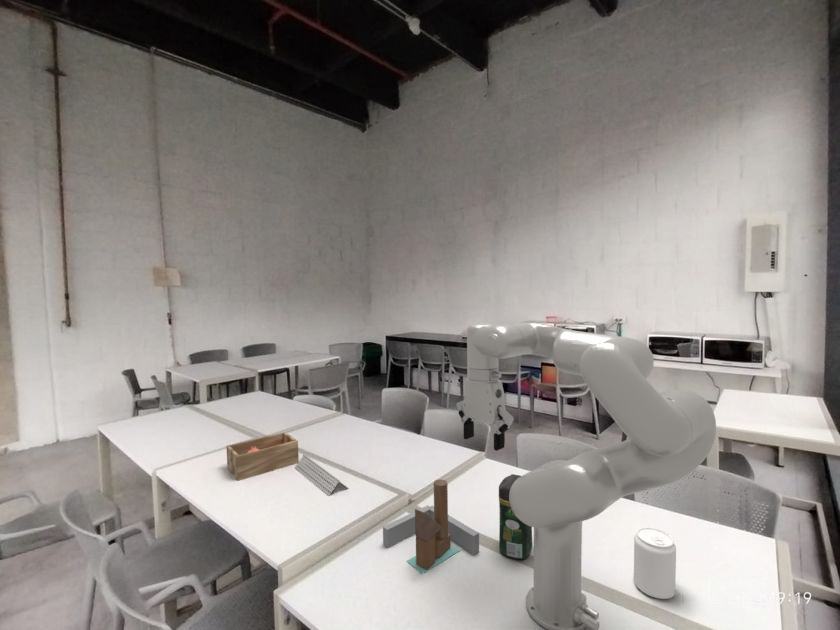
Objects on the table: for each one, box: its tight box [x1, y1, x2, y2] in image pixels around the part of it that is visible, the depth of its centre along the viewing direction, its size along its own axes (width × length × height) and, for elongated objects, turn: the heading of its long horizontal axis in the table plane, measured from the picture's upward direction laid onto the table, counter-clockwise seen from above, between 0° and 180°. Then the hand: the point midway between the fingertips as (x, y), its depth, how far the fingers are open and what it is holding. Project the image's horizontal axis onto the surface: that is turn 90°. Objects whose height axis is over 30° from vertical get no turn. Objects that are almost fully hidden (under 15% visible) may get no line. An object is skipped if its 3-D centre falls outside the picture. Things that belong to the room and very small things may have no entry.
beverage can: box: [633, 527, 677, 600], centre depth 90 cm, size 8×8×12 cm
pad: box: [406, 544, 461, 575], centre depth 102 cm, size 6×13×1 cm, turn 130°
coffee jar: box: [498, 473, 533, 560], centre depth 104 cm, size 10×8×19 cm
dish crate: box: [226, 431, 300, 482], centre depth 158 cm, size 14×23×9 cm, turn 130°
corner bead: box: [294, 453, 350, 497], centre depth 147 cm, size 29×9×5 cm, turn 40°
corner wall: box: [382, 505, 480, 556], centre depth 105 cm, size 19×17×5 cm
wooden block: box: [414, 479, 452, 569], centre depth 102 cm, size 4×11×18 cm, turn 143°
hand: (483, 443), depth 98 cm, fingers open, 9 cm apart
